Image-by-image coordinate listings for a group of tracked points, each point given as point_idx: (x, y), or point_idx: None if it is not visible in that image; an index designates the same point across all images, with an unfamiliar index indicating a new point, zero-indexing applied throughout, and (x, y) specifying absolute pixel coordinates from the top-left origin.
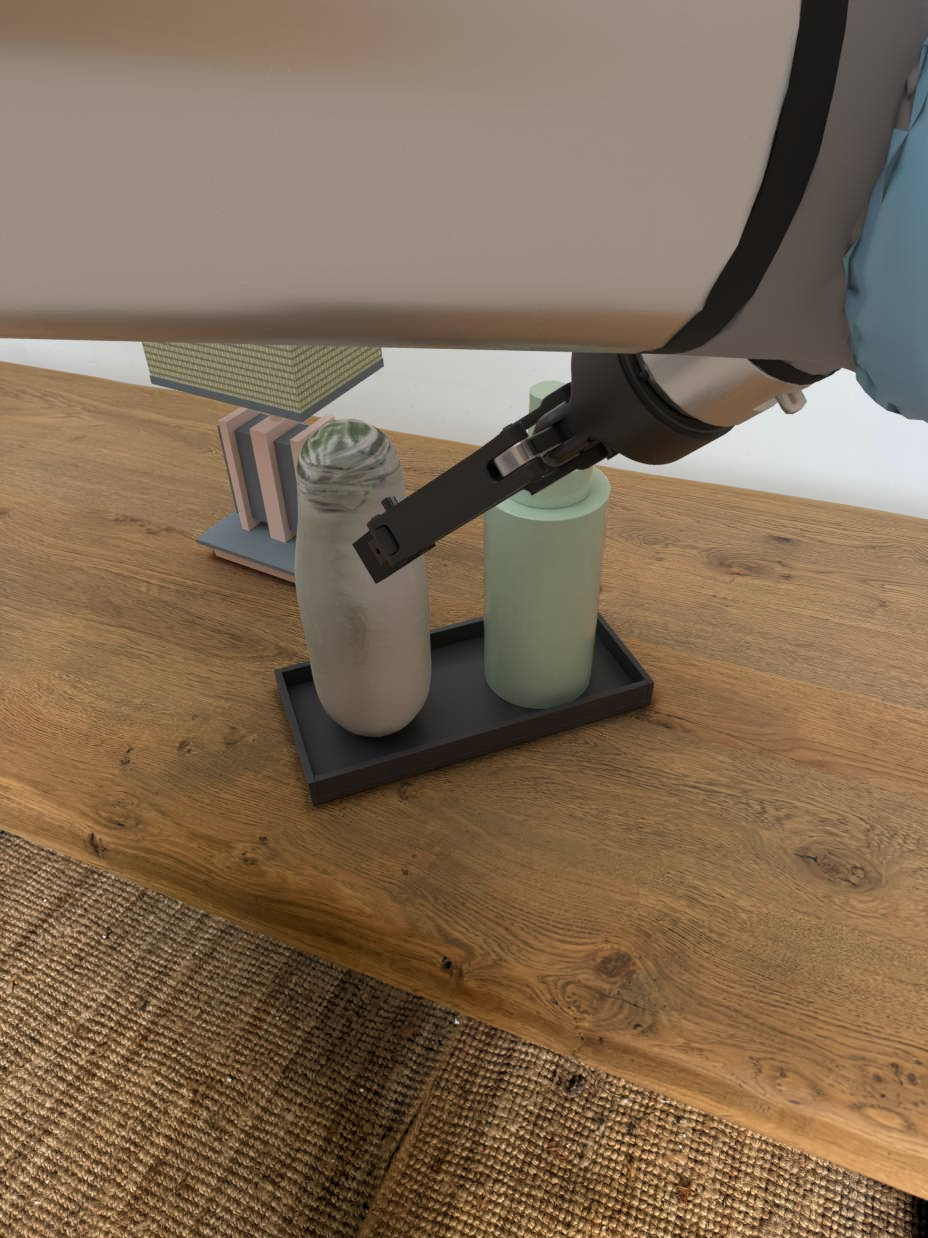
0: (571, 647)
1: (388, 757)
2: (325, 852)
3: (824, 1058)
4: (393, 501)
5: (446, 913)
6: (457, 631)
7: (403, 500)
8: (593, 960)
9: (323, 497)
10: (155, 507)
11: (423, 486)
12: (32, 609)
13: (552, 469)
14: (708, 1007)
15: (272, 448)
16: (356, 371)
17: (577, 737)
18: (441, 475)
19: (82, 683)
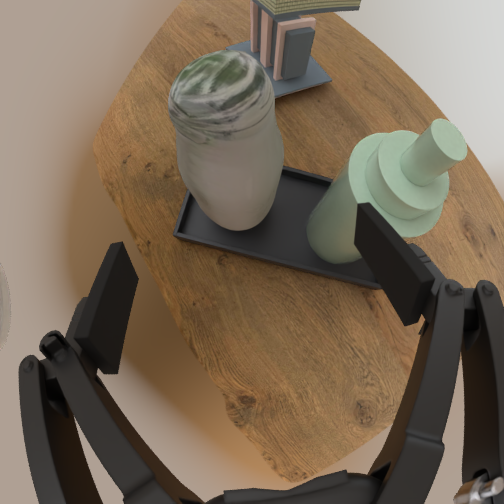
0: (351, 258)
1: (217, 244)
2: (168, 268)
3: (287, 462)
4: (54, 346)
5: (198, 335)
6: (313, 178)
7: (22, 413)
8: (240, 393)
9: (174, 124)
10: (227, 22)
11: (25, 443)
12: (145, 59)
13: (377, 266)
14: (266, 432)
15: (270, 22)
16: (334, 5)
17: (326, 285)
18: (31, 471)
19: (135, 107)
